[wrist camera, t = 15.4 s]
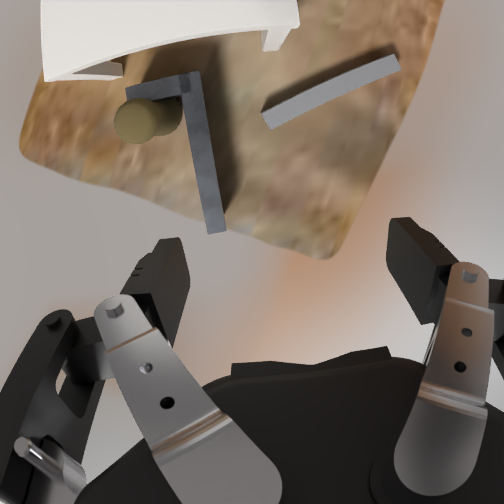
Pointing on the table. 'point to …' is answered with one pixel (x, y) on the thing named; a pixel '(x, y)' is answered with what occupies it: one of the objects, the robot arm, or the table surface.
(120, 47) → the low table
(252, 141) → the table surface
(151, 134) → the cork
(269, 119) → the plain stick
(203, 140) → the steel crook
